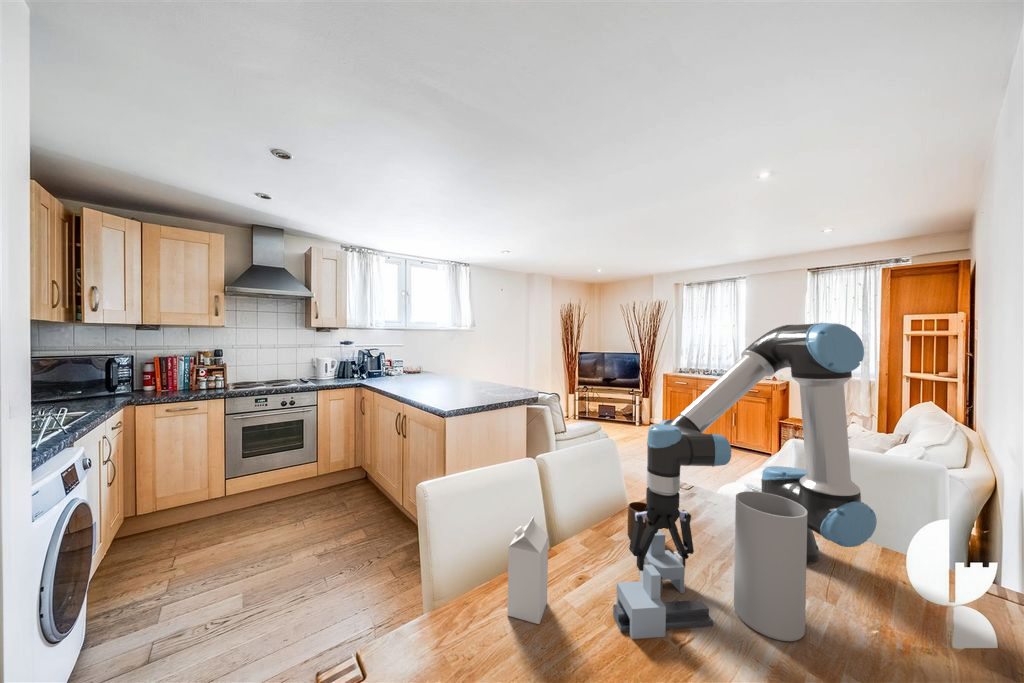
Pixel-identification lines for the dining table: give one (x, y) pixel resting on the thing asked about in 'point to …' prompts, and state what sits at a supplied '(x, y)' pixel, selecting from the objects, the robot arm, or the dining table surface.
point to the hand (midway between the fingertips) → (660, 581)
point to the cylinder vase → (770, 564)
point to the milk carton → (528, 573)
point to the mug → (631, 508)
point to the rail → (672, 615)
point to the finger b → (665, 562)
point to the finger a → (644, 604)
